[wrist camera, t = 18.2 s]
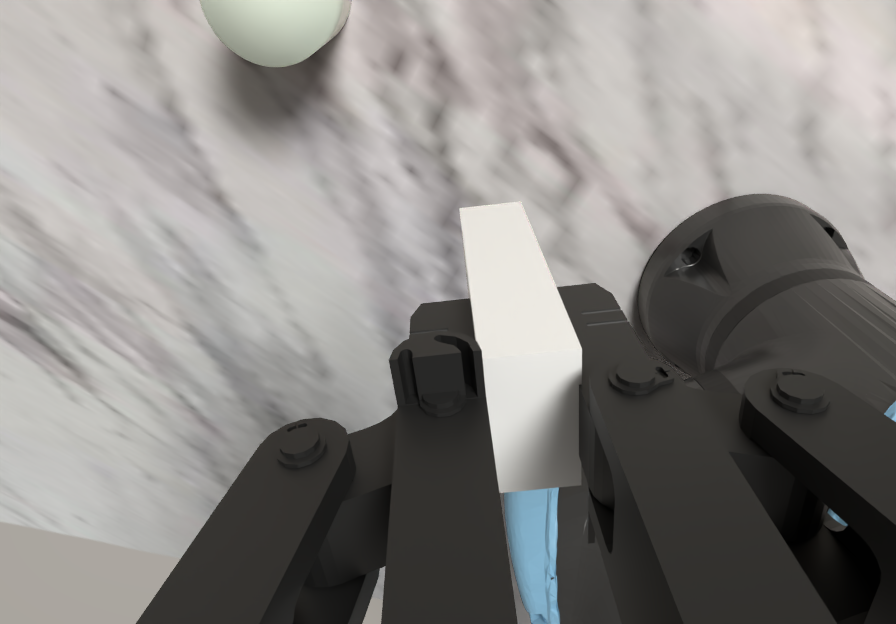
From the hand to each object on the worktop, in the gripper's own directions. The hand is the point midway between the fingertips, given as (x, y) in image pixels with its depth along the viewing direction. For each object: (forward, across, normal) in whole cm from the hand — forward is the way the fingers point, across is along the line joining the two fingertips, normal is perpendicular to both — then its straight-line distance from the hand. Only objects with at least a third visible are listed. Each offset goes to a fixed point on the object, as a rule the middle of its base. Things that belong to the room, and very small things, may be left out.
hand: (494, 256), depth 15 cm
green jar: (+26, +9, -7) cm, 29 cm away
